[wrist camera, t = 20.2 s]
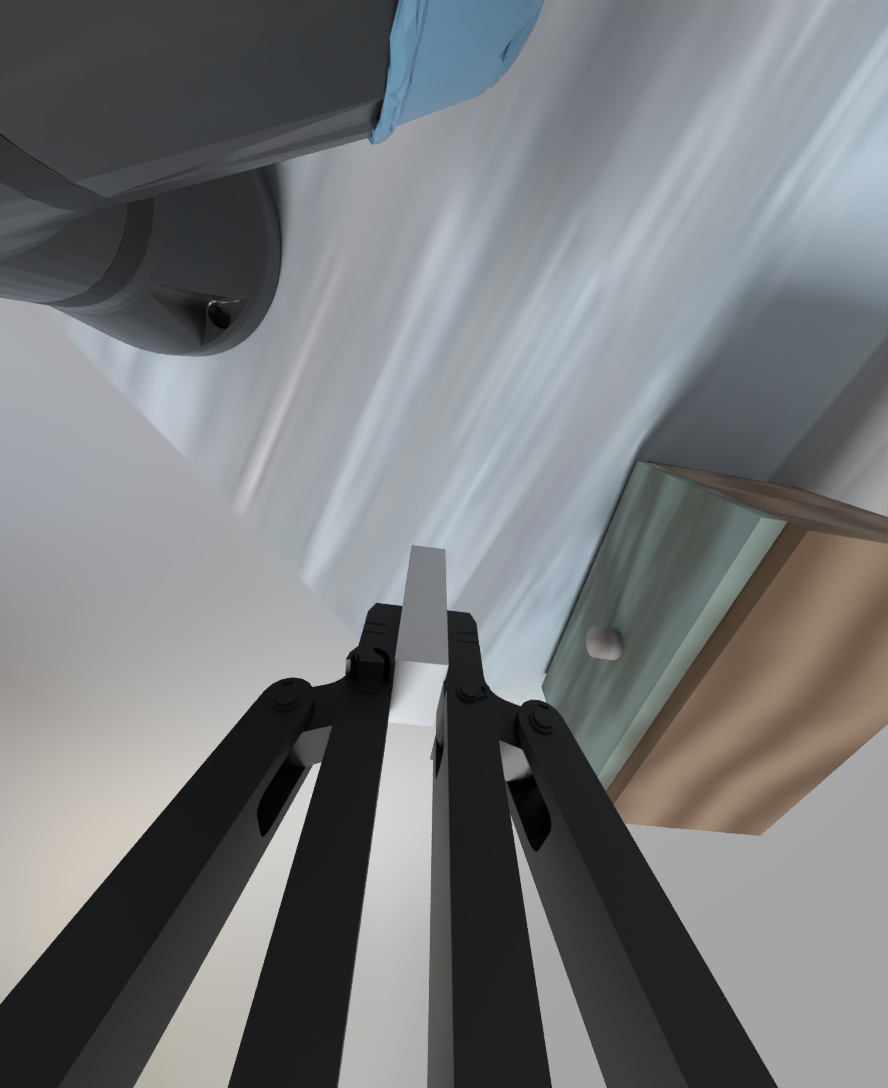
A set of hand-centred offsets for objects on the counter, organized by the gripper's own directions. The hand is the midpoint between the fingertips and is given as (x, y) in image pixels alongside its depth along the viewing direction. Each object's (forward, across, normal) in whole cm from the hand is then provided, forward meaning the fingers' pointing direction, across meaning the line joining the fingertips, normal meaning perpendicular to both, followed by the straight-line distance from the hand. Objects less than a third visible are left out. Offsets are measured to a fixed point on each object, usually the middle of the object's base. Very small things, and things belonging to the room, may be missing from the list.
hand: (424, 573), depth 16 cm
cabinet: (+15, +24, -9) cm, 30 cm away
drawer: (+14, +22, -9) cm, 28 cm away
